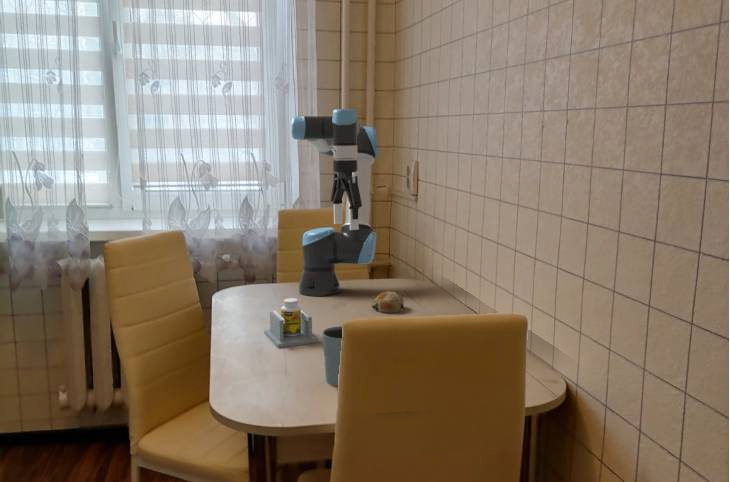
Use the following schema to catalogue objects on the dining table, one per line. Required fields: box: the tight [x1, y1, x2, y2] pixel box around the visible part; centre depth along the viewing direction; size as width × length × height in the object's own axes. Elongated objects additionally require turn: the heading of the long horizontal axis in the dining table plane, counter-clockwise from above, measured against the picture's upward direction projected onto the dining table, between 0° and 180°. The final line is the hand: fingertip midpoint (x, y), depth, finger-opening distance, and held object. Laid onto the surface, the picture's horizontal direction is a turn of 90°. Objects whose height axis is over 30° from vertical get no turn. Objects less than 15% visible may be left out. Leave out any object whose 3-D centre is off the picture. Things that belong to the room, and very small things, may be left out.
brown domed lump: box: [371, 291, 405, 314], centre depth 220 cm, size 10×10×8 cm
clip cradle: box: [263, 308, 320, 349], centre depth 191 cm, size 14×12×7 cm
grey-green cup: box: [321, 325, 342, 387], centre depth 159 cm, size 10×10×12 cm
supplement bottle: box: [280, 297, 302, 337], centre depth 190 cm, size 6×6×10 cm
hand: (345, 226), depth 210 cm, fingers open, 13 cm apart
